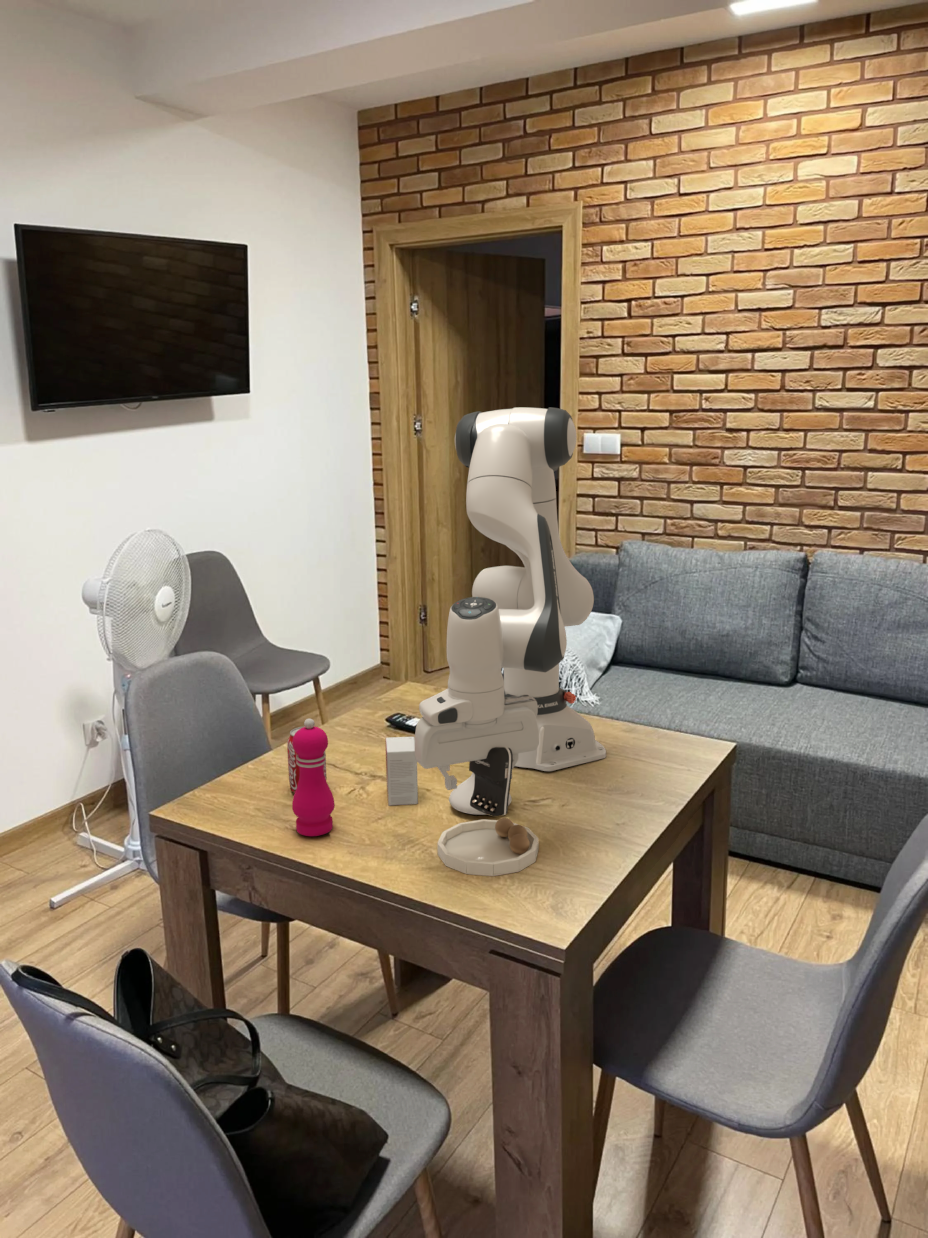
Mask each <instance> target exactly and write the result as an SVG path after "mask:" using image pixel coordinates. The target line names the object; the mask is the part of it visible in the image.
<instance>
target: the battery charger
mask: <svg viewBox="0 0 928 1238" xmlns="http://www.w3.org/2000/svg"><path fill="white" fill-rule="evenodd" d="M512 763H513V754H512V751H511V749H510V748H507V747H495V748H492V749H490V750H489V752H488V755H487V758H486V759H481V760H475V761H470V762H469V766H468V771H469V772H471V773H474V774H475V784H474V791H473V795H472V797H471V800H470V806H471V807H473V808H474V809H476V810H478V811H480V812H483V813H485V815H488V816H490V817H500V816H505V815H507V814H508V813H509V812H508V811H509V810H508V809H509V806H508V801H509V793H510V790H511V783H512V779H511V775H512V776H513V769H512Z"/></svg>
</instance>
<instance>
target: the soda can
mask: <svg viewBox="0 0 928 1238" xmlns="http://www.w3.org/2000/svg"><path fill="white" fill-rule="evenodd" d="M303 727H305V726H304V725H303V726H299V727H295V728H293V729H291V730H290V732H289V737H288V739H287V741H286V742H287V743H286V745H287V747H286V748H287V766H288V767H287V770H288V780H289V787H290V789H289V790H291V792H292V793H294V794H295V791H296V789H297V786H298V783H299V776H300V769H299V766H298V765H297V763H296V762H297V759H296V756H297V755H298V754H297V753H296V752H295V750H294V749H293V745H292V741H293V737H294V735H295V733H296V732H297V731H298V730H299V729H301V728H303ZM324 753H325V754H326V750H325V751H324ZM325 759H326V760H327V756H326V757H325ZM324 776H325V779H326V780H328V779H327V761H326V762H325V764H324Z"/></svg>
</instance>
